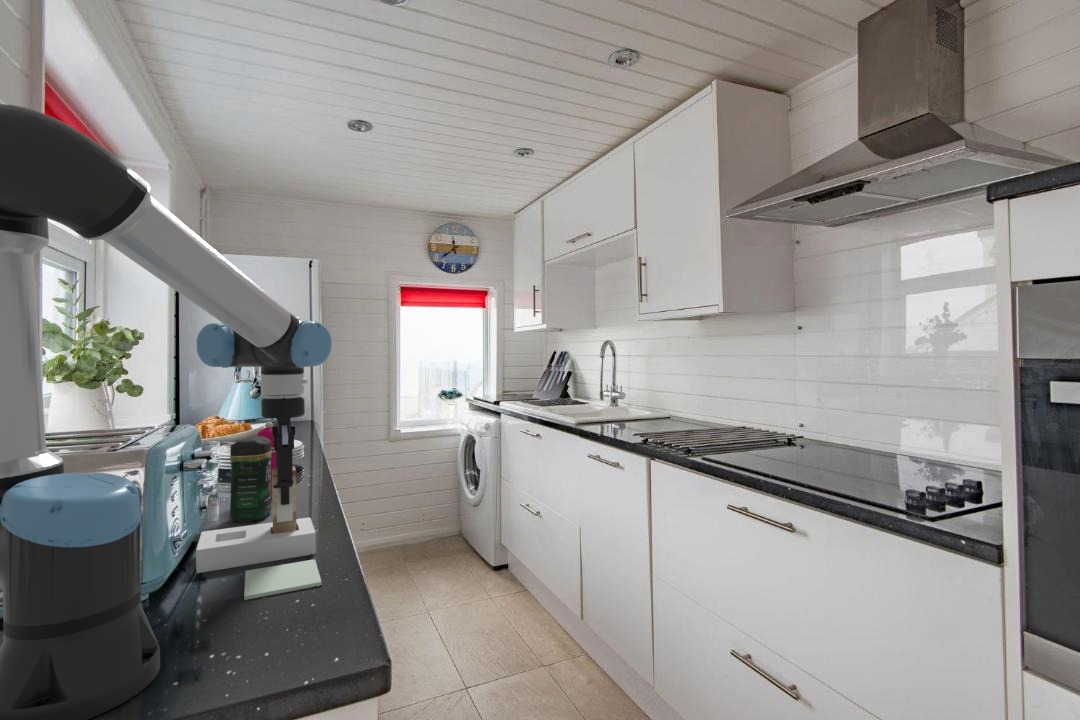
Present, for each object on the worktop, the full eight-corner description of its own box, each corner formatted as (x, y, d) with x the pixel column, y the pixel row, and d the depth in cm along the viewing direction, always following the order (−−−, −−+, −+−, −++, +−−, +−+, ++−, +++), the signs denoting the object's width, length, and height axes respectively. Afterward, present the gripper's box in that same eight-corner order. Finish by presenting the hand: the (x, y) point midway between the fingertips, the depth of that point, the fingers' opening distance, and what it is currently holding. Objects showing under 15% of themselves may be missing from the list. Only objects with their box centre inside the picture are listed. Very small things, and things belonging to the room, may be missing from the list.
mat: (321, 585, 88) (321, 581, 88) (244, 600, 83) (244, 596, 83) (314, 562, 97) (314, 559, 97) (245, 574, 92) (245, 570, 92)
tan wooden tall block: (296, 548, 104) (295, 469, 104) (273, 551, 102) (272, 472, 102) (295, 541, 107) (294, 466, 107) (272, 545, 105) (272, 468, 105)
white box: (315, 553, 102) (315, 532, 102) (196, 573, 93) (196, 550, 93) (310, 536, 111) (310, 517, 111) (202, 552, 103) (201, 531, 103)
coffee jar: (264, 522, 122) (263, 439, 121) (225, 524, 120) (224, 440, 120) (276, 509, 131) (275, 433, 131) (240, 512, 129) (239, 434, 129)
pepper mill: (291, 495, 145) (290, 420, 145) (270, 502, 138) (269, 423, 138) (269, 493, 147) (268, 419, 147) (247, 500, 140) (247, 422, 140)
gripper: (308, 398, 98) (309, 527, 99) (301, 393, 114) (302, 504, 114) (261, 400, 95) (262, 533, 95) (260, 394, 110) (262, 509, 110)
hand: (284, 517), depth 104 cm, fingers closed on tan wooden tall block, 4 cm apart
